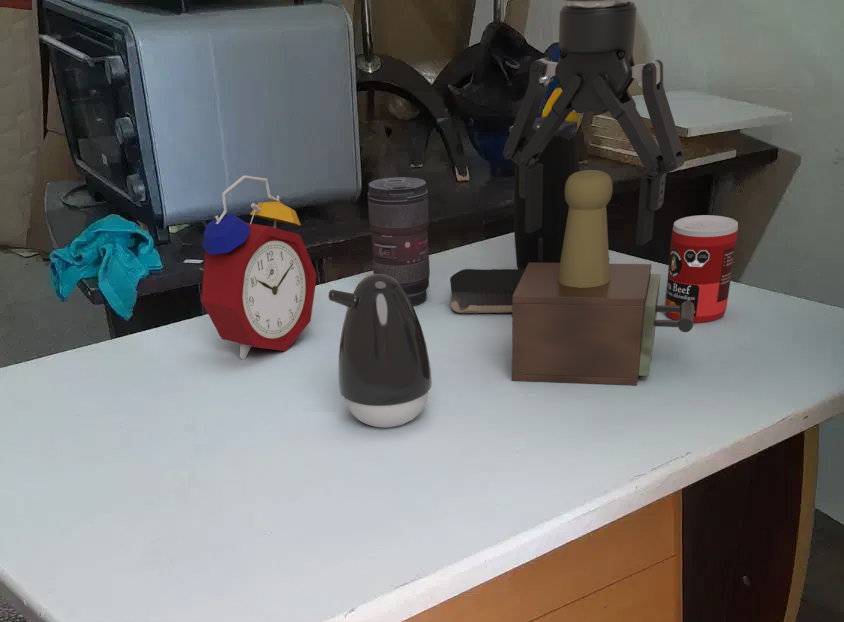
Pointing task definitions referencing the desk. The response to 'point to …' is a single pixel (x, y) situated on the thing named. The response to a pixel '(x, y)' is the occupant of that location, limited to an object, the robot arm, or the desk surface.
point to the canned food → (701, 265)
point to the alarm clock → (257, 277)
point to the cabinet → (578, 326)
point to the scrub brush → (484, 290)
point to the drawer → (659, 321)
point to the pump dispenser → (382, 353)
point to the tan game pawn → (586, 230)
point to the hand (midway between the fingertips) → (587, 236)
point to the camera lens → (401, 233)
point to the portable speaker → (547, 198)
